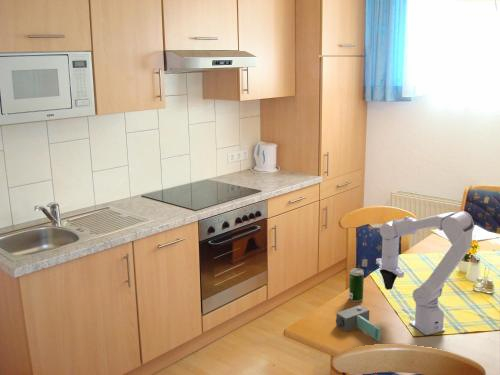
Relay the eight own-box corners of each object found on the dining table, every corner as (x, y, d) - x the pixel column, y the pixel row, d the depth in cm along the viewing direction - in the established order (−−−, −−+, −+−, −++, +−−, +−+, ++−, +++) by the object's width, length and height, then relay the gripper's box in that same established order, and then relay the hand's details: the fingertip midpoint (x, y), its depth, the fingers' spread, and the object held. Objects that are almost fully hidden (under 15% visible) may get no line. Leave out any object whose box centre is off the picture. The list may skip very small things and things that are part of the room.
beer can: (355, 303, 208) (356, 274, 205) (346, 298, 212) (346, 270, 210) (366, 299, 211) (366, 271, 208) (356, 295, 215) (356, 266, 212)
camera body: (343, 332, 187) (343, 317, 185) (334, 326, 191) (334, 312, 190) (369, 322, 193) (369, 308, 192) (359, 317, 197) (359, 303, 196)
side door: (355, 326, 189) (355, 315, 188) (358, 325, 190) (358, 314, 189) (377, 341, 179) (378, 329, 178) (380, 340, 180) (381, 328, 179)
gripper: (369, 248, 200) (368, 283, 204) (392, 262, 187) (391, 298, 190) (385, 246, 203) (384, 279, 206) (409, 259, 189) (407, 295, 193)
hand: (388, 288), depth 198 cm, fingers closed
